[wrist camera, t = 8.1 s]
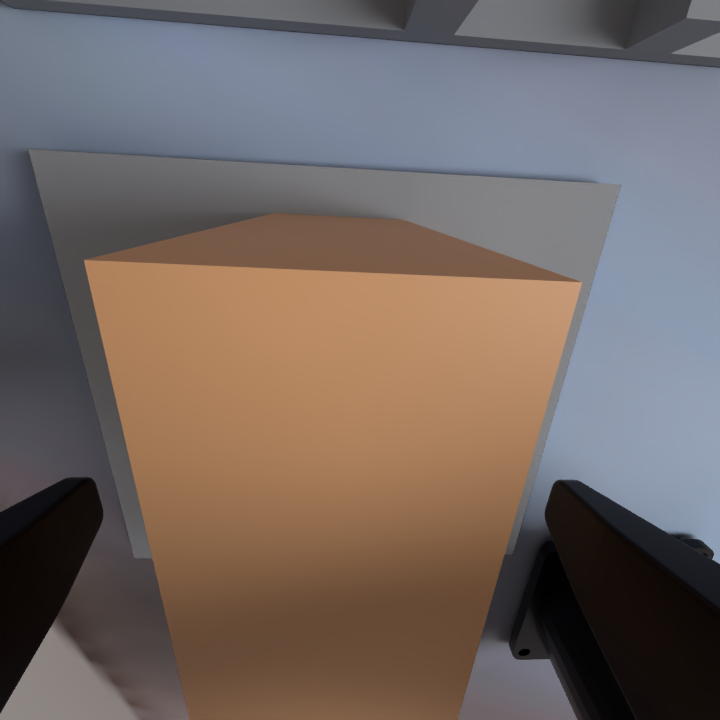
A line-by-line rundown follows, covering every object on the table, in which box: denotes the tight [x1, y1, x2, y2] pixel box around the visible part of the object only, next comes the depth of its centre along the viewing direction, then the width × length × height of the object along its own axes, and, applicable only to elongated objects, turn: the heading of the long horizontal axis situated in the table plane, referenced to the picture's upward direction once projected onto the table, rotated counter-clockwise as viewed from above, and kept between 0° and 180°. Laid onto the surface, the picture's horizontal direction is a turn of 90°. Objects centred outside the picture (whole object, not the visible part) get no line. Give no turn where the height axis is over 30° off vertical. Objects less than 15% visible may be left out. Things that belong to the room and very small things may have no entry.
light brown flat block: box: [84, 213, 582, 720], centre depth 7 cm, size 10×3×7 cm, turn 177°
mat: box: [28, 149, 621, 558], centre depth 11 cm, size 12×13×1 cm
